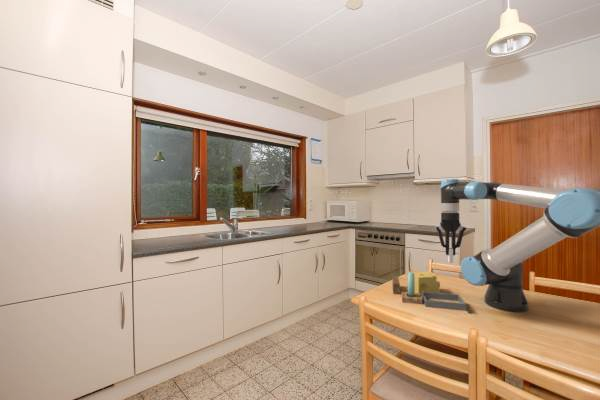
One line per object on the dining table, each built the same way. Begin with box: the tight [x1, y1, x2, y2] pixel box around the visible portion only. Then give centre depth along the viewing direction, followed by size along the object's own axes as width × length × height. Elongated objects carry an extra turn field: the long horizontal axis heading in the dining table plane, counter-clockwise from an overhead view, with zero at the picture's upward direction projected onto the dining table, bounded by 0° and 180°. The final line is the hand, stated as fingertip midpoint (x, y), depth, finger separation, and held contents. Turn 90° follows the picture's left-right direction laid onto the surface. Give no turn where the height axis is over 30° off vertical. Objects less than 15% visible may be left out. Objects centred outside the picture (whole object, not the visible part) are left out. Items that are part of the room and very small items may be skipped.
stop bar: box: [391, 276, 401, 295], centre depth 135 cm, size 3×12×6 cm, turn 163°
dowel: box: [407, 271, 415, 297], centre depth 122 cm, size 3×3×12 cm
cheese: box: [411, 270, 442, 297], centre depth 131 cm, size 10×11×10 cm
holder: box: [400, 291, 423, 305], centre depth 122 cm, size 8×8×3 cm
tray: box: [421, 292, 467, 311], centre depth 117 cm, size 15×11×4 cm
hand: (450, 262), depth 128 cm, fingers closed
